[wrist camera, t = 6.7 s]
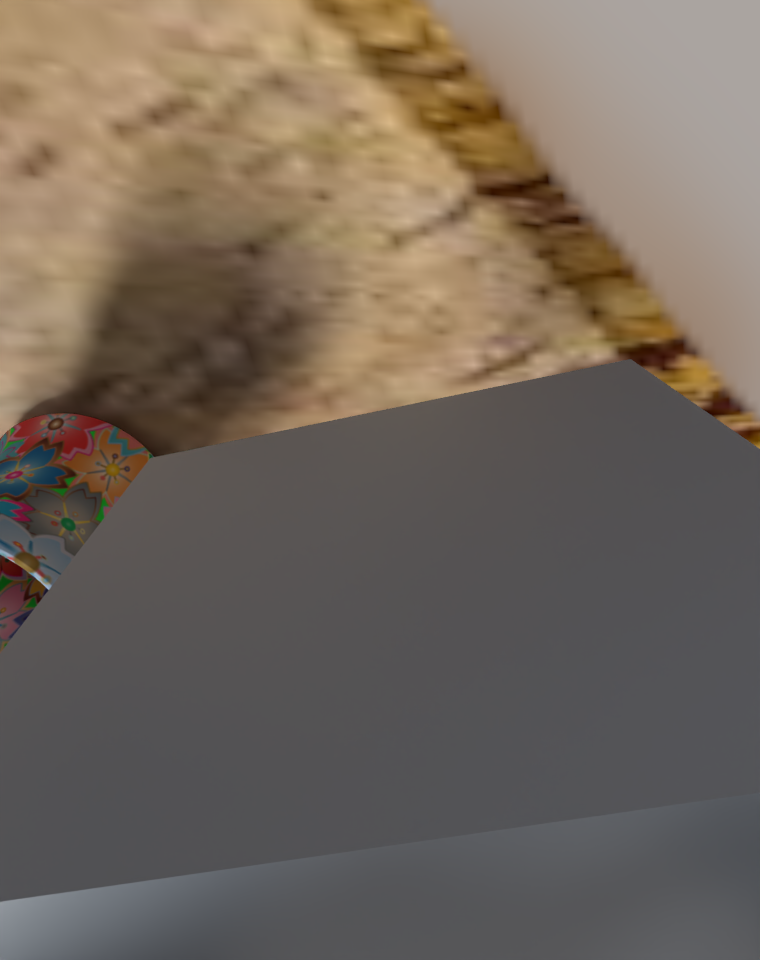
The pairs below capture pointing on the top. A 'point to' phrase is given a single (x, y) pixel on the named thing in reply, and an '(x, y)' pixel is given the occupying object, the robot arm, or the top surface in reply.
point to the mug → (55, 501)
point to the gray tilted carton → (402, 693)
